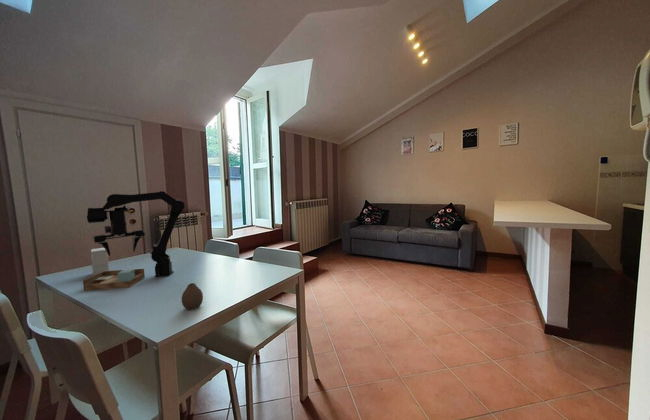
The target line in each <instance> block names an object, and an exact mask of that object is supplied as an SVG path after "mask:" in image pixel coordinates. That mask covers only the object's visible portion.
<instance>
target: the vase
mask: <svg viewBox="0 0 650 420" xmlns="http://www.w3.org/2000/svg"><path fill="white" fill-rule="evenodd" d="M203 301H204V295H203V292H202V290H201V288H199V286H197V284H196V283H193V282H192V283H188V285H186V288H185V290H184V291H183V292H182V295H181V304H182V306H183V308H185V310H187V311H194V310H197V309H198V308H200V307H201V306H202V303H203Z"/></svg>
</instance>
